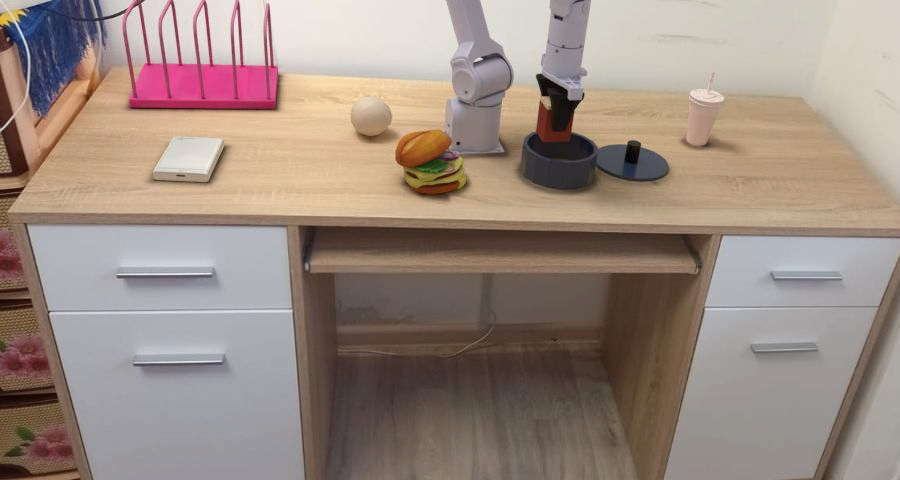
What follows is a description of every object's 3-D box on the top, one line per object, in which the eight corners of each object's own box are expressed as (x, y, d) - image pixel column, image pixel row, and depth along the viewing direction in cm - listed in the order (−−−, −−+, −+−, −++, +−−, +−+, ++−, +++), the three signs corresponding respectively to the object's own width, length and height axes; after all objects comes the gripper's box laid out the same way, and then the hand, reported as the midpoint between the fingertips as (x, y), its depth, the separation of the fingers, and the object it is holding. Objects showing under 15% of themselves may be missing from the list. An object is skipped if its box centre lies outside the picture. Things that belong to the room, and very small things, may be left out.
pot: (532, 194, 134) (536, 163, 131) (511, 159, 144) (515, 130, 141) (603, 190, 138) (608, 161, 134) (578, 157, 147) (583, 128, 144)
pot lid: (608, 185, 139) (612, 161, 137) (582, 150, 150) (586, 127, 147) (679, 182, 143) (685, 159, 140) (649, 148, 153) (654, 126, 151)
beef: (543, 142, 133) (547, 106, 129) (535, 131, 136) (540, 96, 133) (570, 141, 134) (575, 105, 131) (562, 130, 137) (567, 95, 134)
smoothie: (716, 141, 158) (734, 71, 151) (708, 154, 153) (726, 82, 146) (683, 133, 160) (699, 63, 152) (674, 145, 155) (691, 73, 148)
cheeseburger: (459, 203, 129) (447, 144, 124) (395, 205, 132) (381, 148, 127) (474, 173, 138) (463, 117, 132) (413, 176, 140) (400, 122, 135)
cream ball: (394, 141, 146) (395, 105, 142) (352, 142, 144) (352, 106, 140) (389, 125, 151) (390, 90, 147) (348, 126, 149) (348, 90, 146)
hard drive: (172, 135, 137) (151, 170, 126) (224, 138, 137) (207, 172, 127) (174, 144, 137) (153, 180, 127) (224, 147, 138) (208, 182, 128)
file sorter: (145, 72, 161) (133, -10, 153) (278, 74, 166) (273, -5, 158) (129, 108, 147) (114, 20, 138) (275, 109, 152) (269, 25, 144)
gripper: (607, 59, 122) (593, 143, 129) (574, 26, 133) (563, 106, 141) (561, 59, 120) (550, 145, 127) (532, 26, 131) (523, 106, 139)
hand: (554, 124), depth 134 cm, fingers closed on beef, 4 cm apart
